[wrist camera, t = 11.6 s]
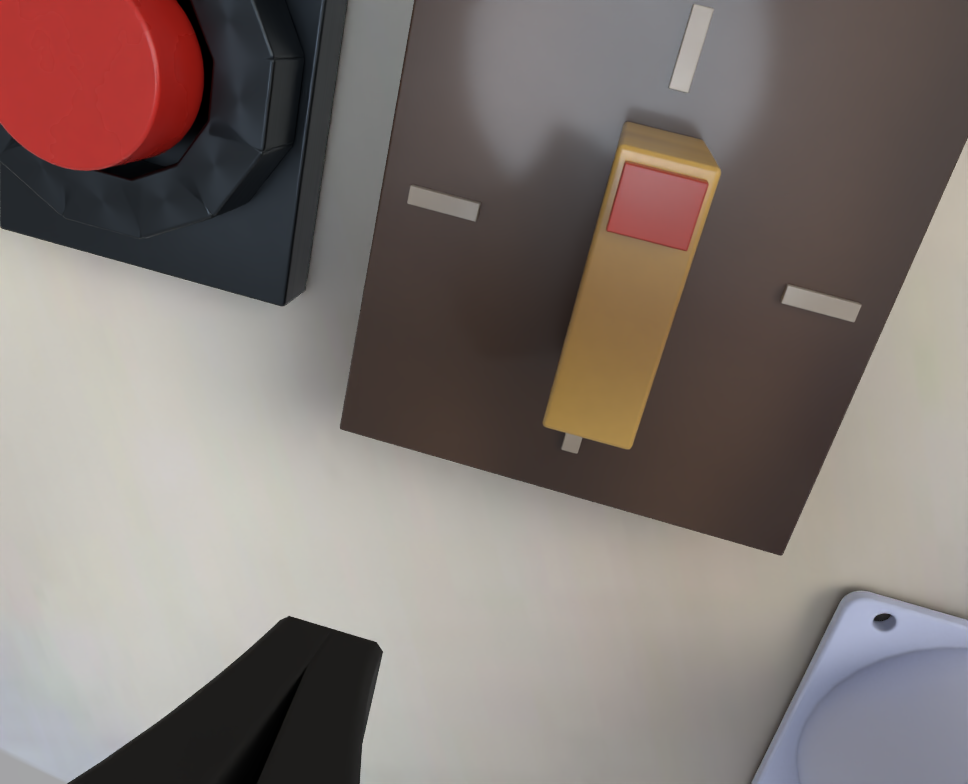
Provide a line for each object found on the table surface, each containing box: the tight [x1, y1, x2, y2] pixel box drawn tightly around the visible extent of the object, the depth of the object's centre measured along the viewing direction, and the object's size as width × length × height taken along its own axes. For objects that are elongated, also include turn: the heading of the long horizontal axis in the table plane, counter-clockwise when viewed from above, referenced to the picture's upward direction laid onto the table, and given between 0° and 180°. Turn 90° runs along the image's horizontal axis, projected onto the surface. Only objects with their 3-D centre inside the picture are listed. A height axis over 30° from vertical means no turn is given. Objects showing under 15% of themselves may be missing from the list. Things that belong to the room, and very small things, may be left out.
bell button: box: [0, 0, 204, 171], centre depth 16 cm, size 4×4×2 cm
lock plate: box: [340, 0, 968, 555], centre depth 18 cm, size 10×11×3 cm
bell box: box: [0, 0, 347, 306], centre depth 18 cm, size 9×7×3 cm
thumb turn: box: [543, 122, 721, 449], centre depth 15 cm, size 5×2×4 cm, turn 167°
